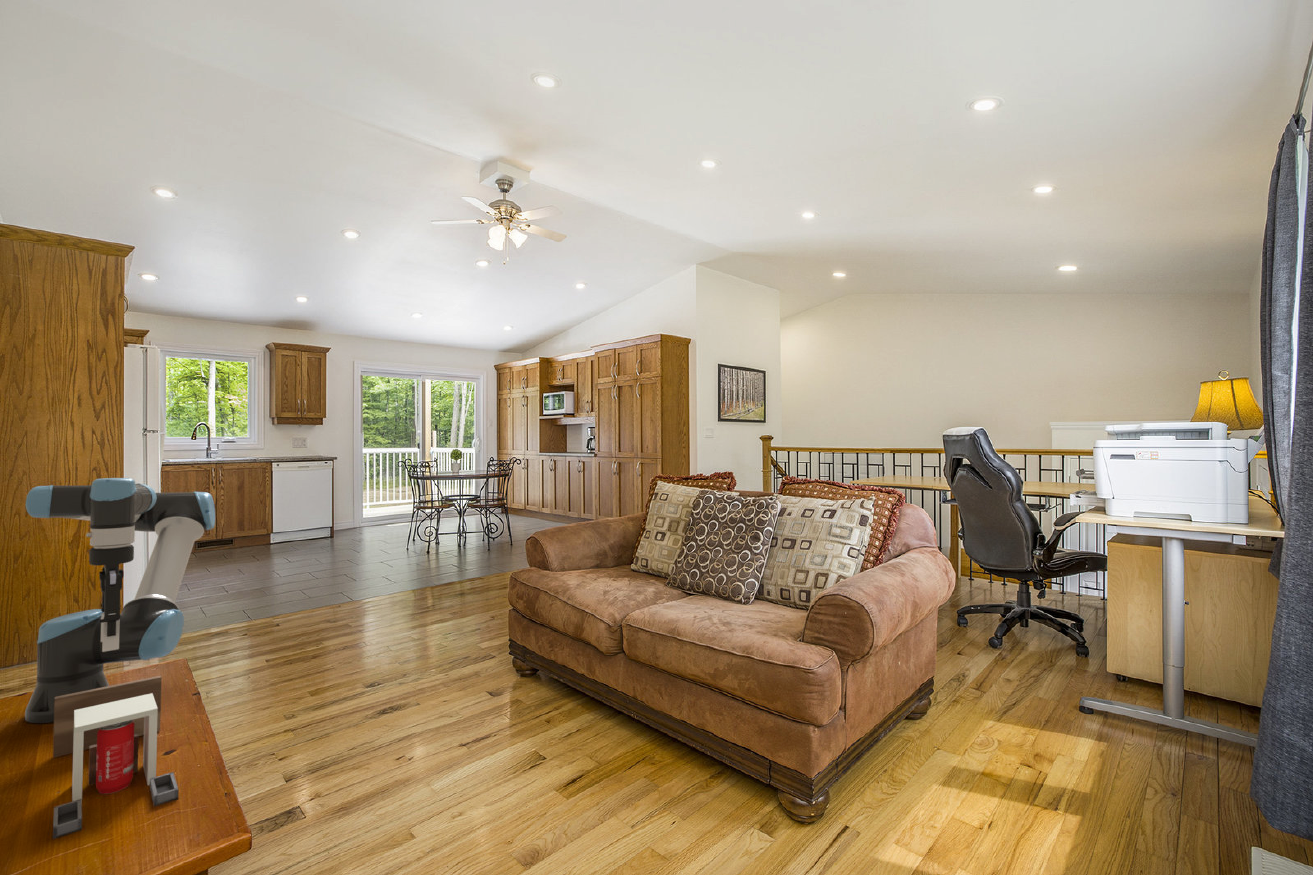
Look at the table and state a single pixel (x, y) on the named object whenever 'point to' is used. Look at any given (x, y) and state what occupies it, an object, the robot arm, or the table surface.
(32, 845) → the table surface
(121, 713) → the tunnel
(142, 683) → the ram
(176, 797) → the pit
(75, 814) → the pit
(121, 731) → the beverage can
